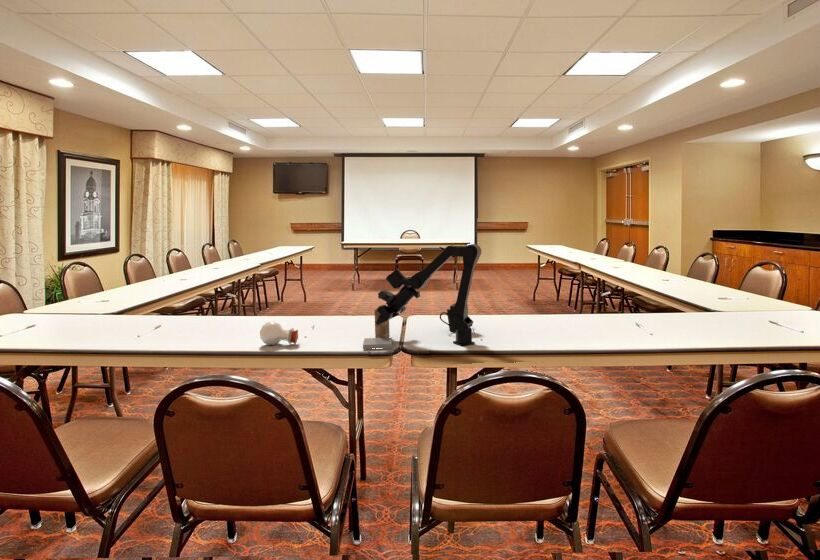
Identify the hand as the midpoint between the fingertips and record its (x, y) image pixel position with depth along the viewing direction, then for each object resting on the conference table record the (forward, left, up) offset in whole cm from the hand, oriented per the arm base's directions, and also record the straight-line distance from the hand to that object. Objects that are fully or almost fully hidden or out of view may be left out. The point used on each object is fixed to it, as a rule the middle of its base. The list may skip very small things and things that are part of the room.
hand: (379, 322), depth 221 cm
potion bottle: (+14, +38, -7) cm, 42 cm away
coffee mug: (-6, -33, -7) cm, 35 cm away
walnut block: (-1, -1, -7) cm, 7 cm away
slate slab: (-12, +7, -7) cm, 15 cm away
